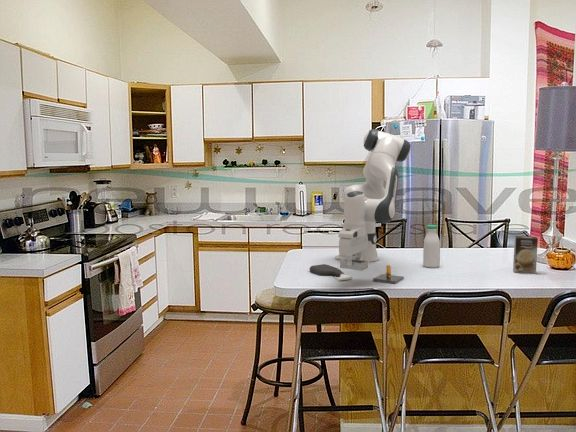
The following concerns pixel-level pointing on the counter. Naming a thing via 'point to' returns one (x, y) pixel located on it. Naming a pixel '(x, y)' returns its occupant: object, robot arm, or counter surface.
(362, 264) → the grey open tray
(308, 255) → the counter surface
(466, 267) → the counter surface
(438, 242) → the milk bottle
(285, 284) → the counter surface
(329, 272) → the drumstick
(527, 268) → the coffee box
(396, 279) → the keeper
